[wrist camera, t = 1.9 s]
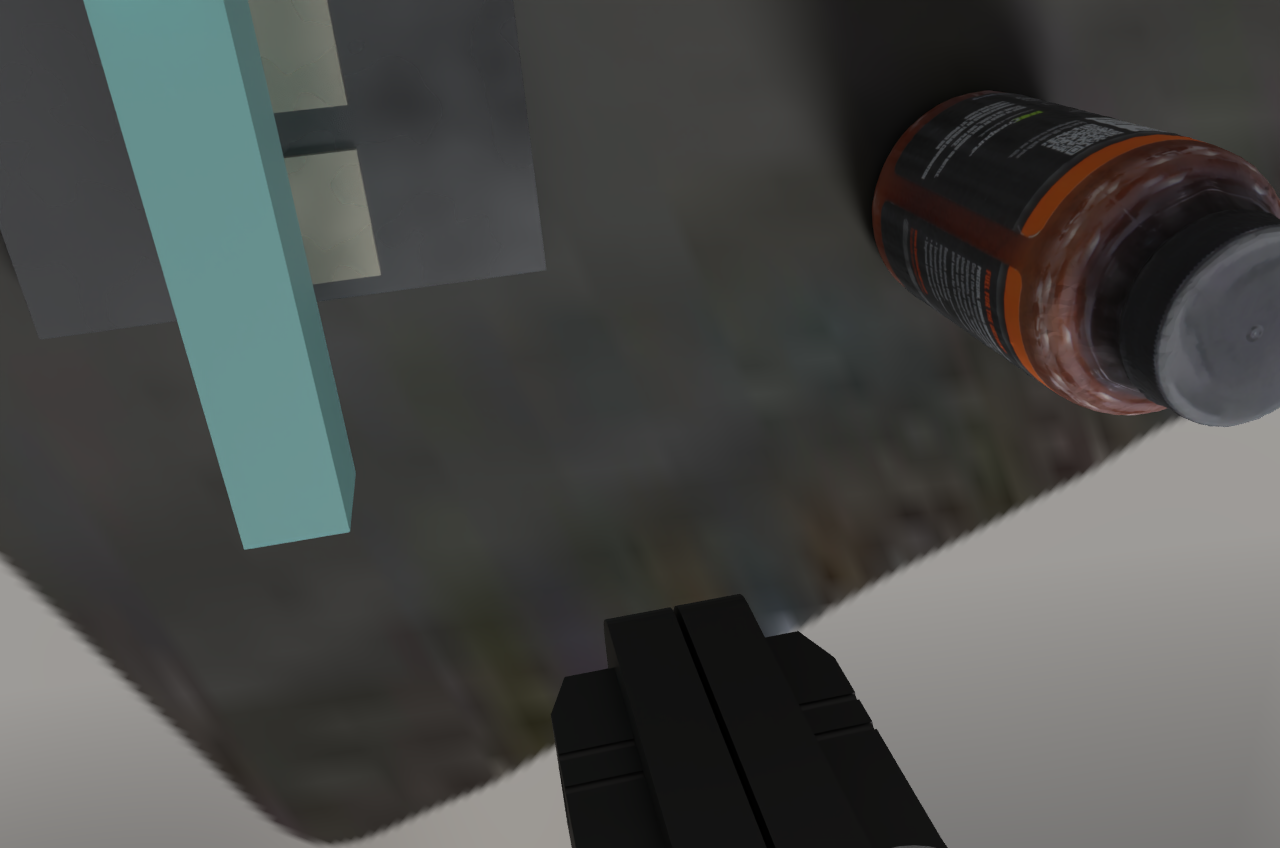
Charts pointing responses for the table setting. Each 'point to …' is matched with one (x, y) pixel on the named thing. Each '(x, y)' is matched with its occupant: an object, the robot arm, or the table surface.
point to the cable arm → (231, 257)
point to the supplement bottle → (1091, 253)
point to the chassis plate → (312, 149)
